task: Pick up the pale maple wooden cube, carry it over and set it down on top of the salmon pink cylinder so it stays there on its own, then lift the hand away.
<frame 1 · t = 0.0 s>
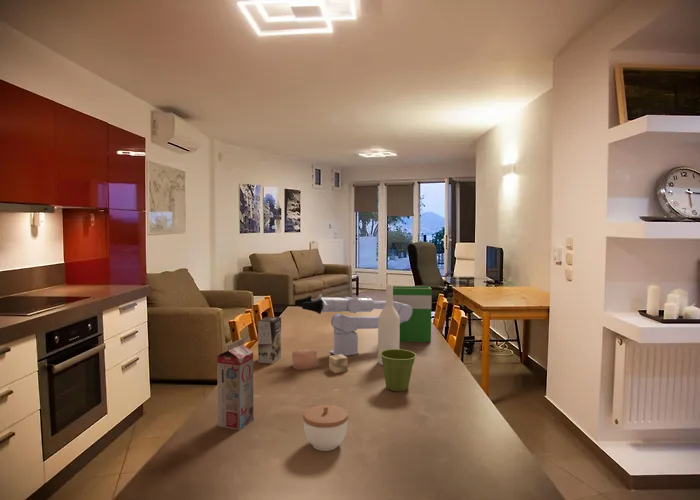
hand: (298, 304, 179), 22 cm above the table, tool horizontal, fingers open, 7 cm apart
maple cube: (338, 370, 168), on the table
juice carton: (236, 423, 124), on the table
hardback book: (410, 340, 213), on the table
bottle: (388, 363, 177), on the table
coffee box: (270, 360, 180), on the table
lidded jar: (325, 445, 112), on the table
salmon pink cylinder: (304, 366, 173), on the table
plant pot: (397, 388, 151), on the table
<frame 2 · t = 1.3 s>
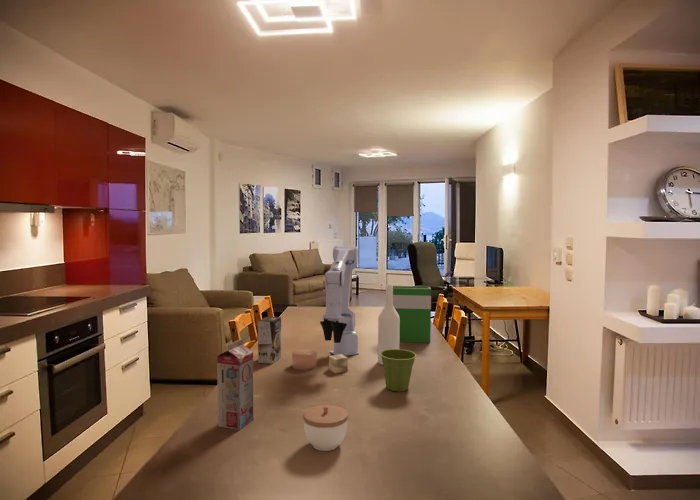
hand: (332, 341, 168), 10 cm above the table, tool pointing down, fingers open, 7 cm apart
nothing on the table moved.
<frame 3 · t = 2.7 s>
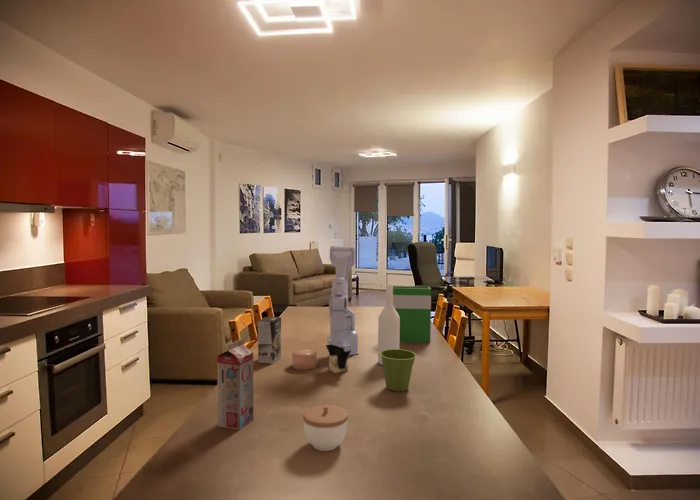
hand: (338, 366, 168), 1 cm above the table, tool pointing down, fingers closed on maple cube, 5 cm apart
maple cube: (338, 370, 168), on the table, touching gripper
everything else where it was.
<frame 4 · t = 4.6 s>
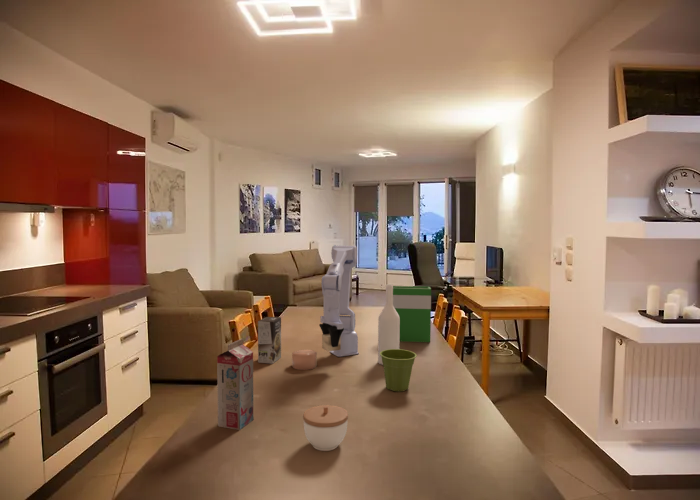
hand: (331, 344, 169), 9 cm above the table, tool pointing down, fingers closed on maple cube, 5 cm apart
maple cube: (331, 348, 169), point 8 cm above the table, touching gripper
everything else where it was.
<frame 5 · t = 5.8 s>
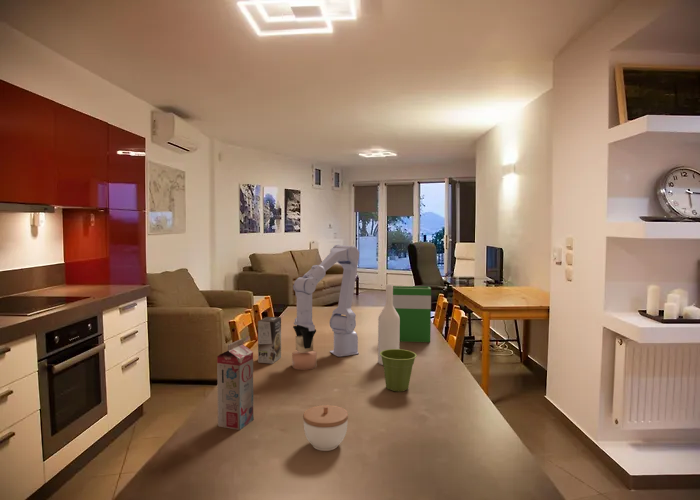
hand: (304, 346, 173), 7 cm above the table, tool pointing down, fingers closed on maple cube, 5 cm apart
maple cube: (304, 350, 173), point 6 cm above the table, touching gripper
everything else where it was.
when the fingers open (7 cm above the table, at t = 6.5 s): maple cube drops 1 cm, resting on salmon pink cylinder.
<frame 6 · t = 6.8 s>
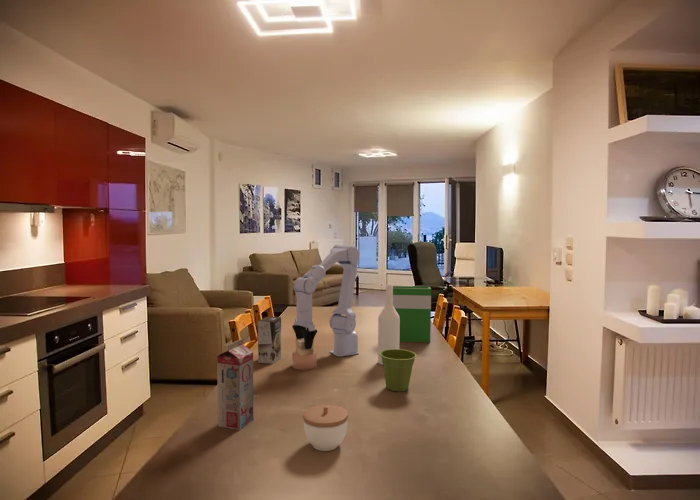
hand: (304, 346, 173), 7 cm above the table, tool pointing down, fingers open, 7 cm apart
maple cube: (304, 353, 173), point 5 cm above the table, touching salmon pink cylinder
salmon pink cylinder: (304, 366, 173), on the table, touching maple cube
everything else where it was.
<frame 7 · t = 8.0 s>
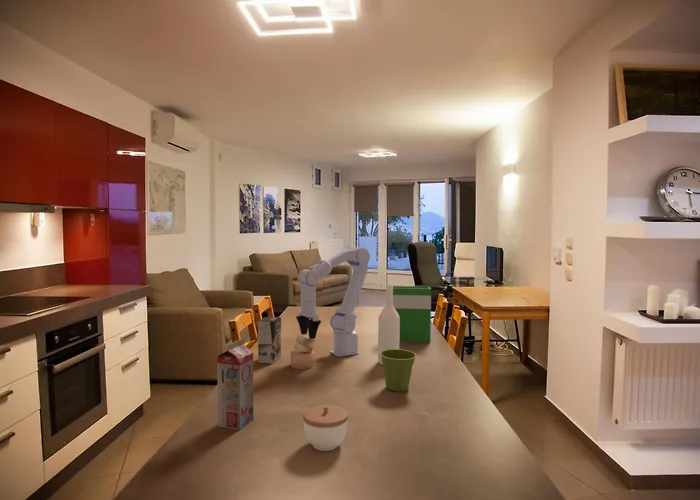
hand: (308, 336, 178), 10 cm above the table, tool pointing down, fingers open, 7 cm apart
maple cube: (302, 350, 174), point 5 cm above the table, tilted 17°, touching gripper, salmon pink cylinder
salmon pink cylinder: (302, 365, 174), on the table, touching maple cube
everything else where it was.
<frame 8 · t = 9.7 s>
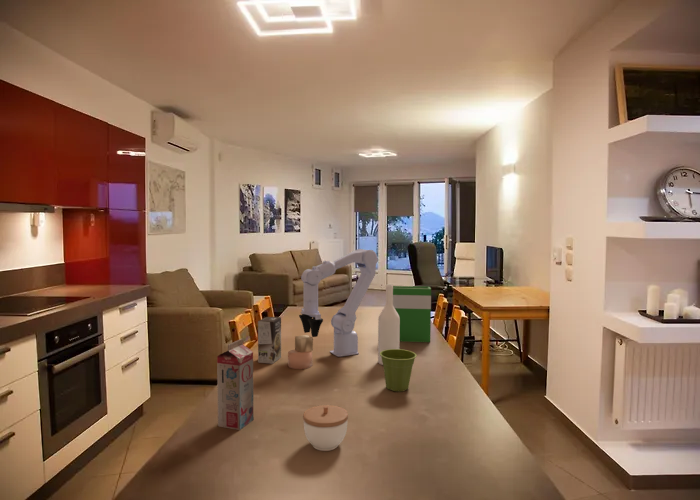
hand: (310, 334, 182), 9 cm above the table, tool pointing down, fingers open, 7 cm apart
maple cube: (297, 344, 175), point 7 cm above the table, tilted 90°, touching salmon pink cylinder
everything else where it was.
at the end: maple cube point 7.3 cm above the table; maple cube 2.0 cm from the salmon pink cylinder (horizontally); the gripper is holding nothing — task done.
